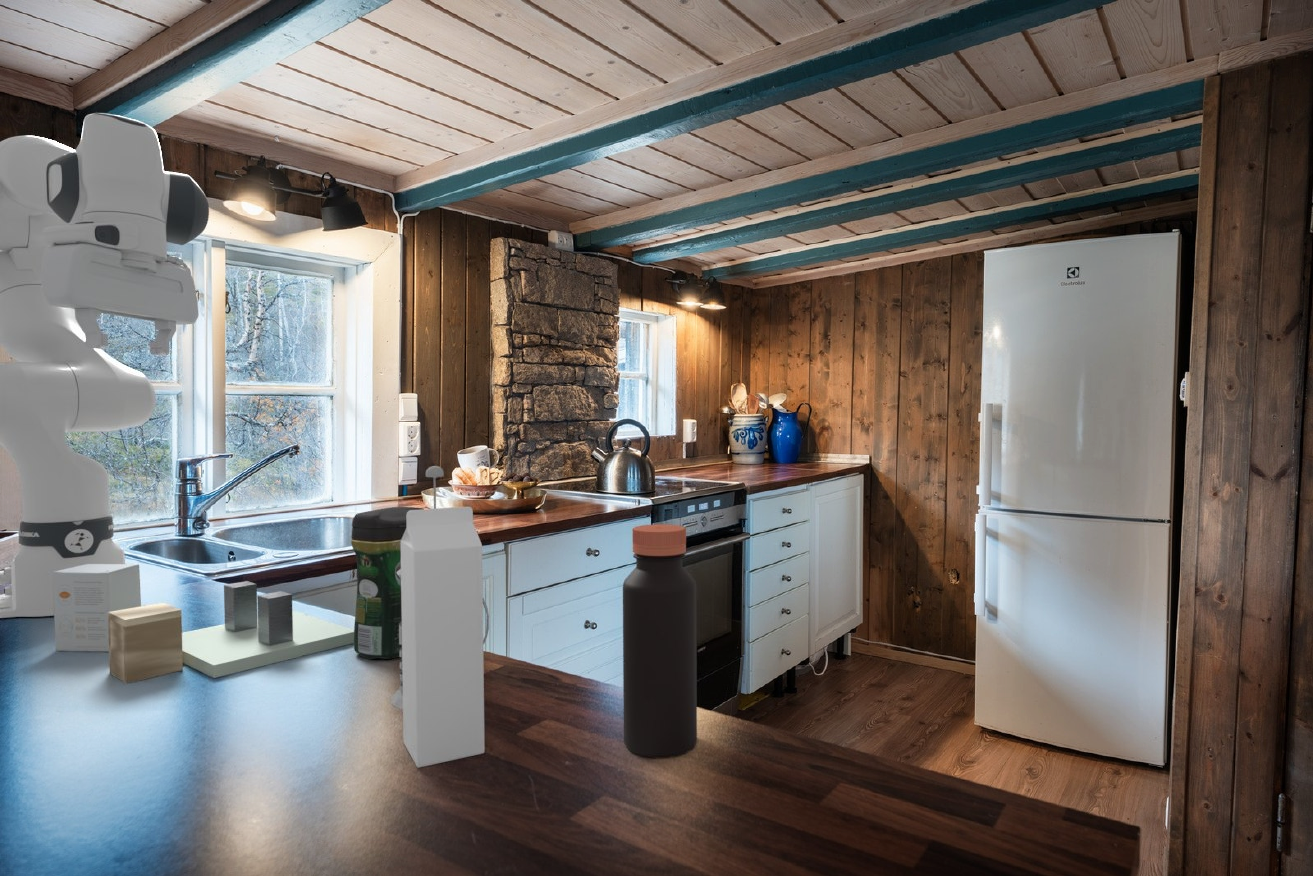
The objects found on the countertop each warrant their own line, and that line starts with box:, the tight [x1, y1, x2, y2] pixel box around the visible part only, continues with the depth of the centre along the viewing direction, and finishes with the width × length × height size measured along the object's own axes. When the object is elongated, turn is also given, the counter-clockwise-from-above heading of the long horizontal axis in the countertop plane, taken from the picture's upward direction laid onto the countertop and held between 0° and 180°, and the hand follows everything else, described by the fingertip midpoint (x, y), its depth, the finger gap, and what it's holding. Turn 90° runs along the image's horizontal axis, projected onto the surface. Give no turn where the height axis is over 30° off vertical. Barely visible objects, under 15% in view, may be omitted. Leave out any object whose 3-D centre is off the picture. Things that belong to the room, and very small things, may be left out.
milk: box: [401, 506, 485, 769], centre depth 70 cm, size 6×6×22 cm
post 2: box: [257, 590, 293, 646], centre depth 99 cm, size 3×3×8 cm
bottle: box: [622, 523, 698, 759], centre depth 71 cm, size 7×7×20 cm
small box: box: [52, 563, 142, 653], centre depth 103 cm, size 8×6×10 cm
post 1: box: [223, 580, 258, 632], centre depth 105 cm, size 3×3×8 cm
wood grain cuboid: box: [108, 602, 184, 684], centre depth 92 cm, size 6×6×7 cm
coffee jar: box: [350, 506, 424, 660], centre depth 100 cm, size 10×8×19 cm
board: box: [182, 609, 354, 679], centre depth 102 cm, size 18×18×2 cm
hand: (129, 351), depth 99 cm, fingers open, 8 cm apart
